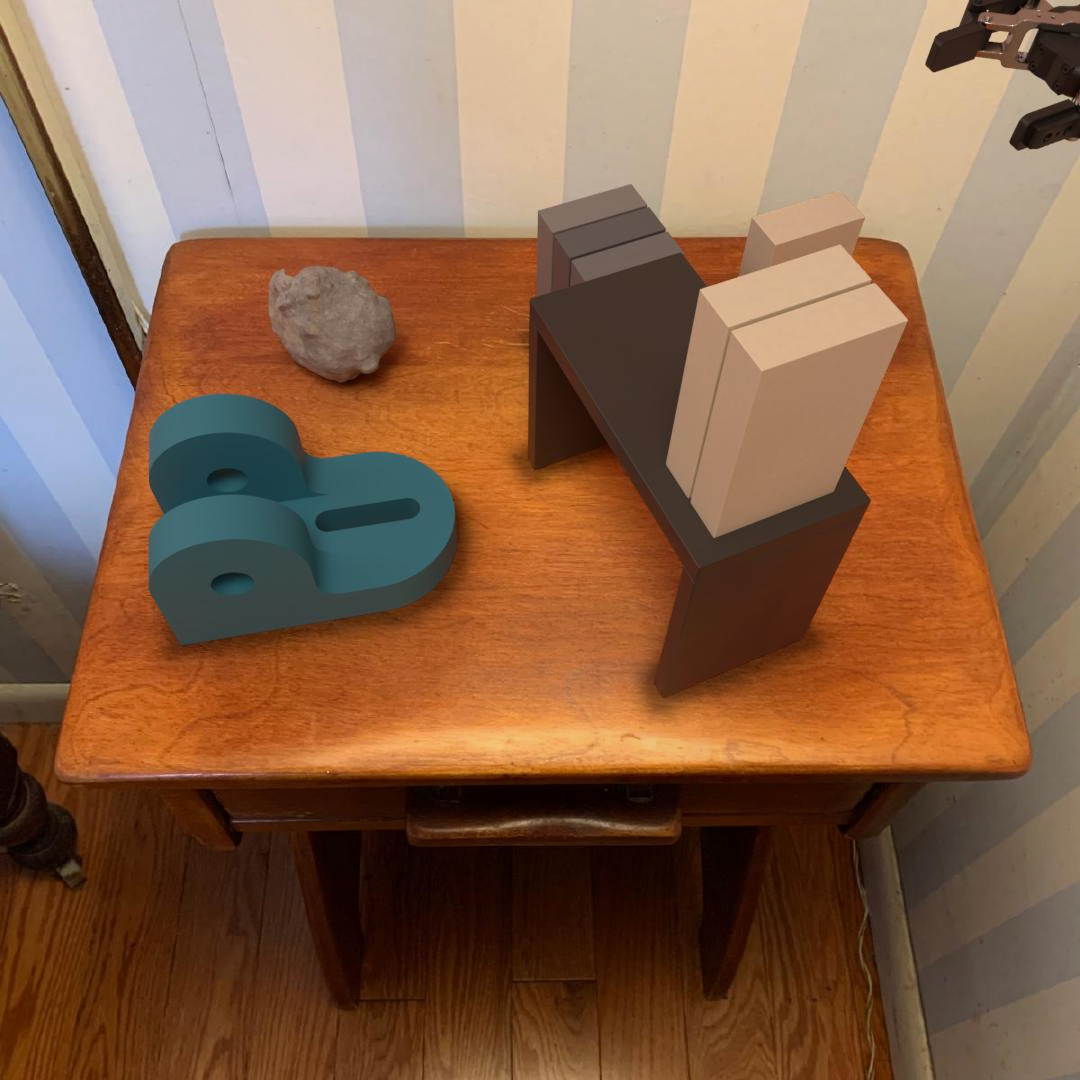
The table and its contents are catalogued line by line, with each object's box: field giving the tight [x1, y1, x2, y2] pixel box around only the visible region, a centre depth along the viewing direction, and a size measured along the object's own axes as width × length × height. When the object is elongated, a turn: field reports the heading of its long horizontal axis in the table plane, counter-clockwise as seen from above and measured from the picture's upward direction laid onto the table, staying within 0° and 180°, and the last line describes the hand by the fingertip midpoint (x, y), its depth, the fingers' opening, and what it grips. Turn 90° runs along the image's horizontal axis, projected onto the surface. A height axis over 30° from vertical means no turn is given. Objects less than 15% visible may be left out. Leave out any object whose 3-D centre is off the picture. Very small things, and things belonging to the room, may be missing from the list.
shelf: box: [527, 252, 872, 699], centre depth 62 cm, size 20×10×15 cm, turn 24°
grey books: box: [535, 183, 686, 297], centre depth 72 cm, size 8×7×12 cm
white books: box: [666, 245, 909, 538], centre depth 47 cm, size 5×7×12 cm
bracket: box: [148, 393, 458, 646], centre depth 63 cm, size 18×10×10 cm, turn 102°
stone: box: [267, 265, 397, 384], centre depth 72 cm, size 9×7×10 cm
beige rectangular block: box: [737, 189, 866, 277], centre depth 73 cm, size 3×7×12 cm, turn 114°
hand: (973, 94), depth 65 cm, fingers open, 8 cm apart
